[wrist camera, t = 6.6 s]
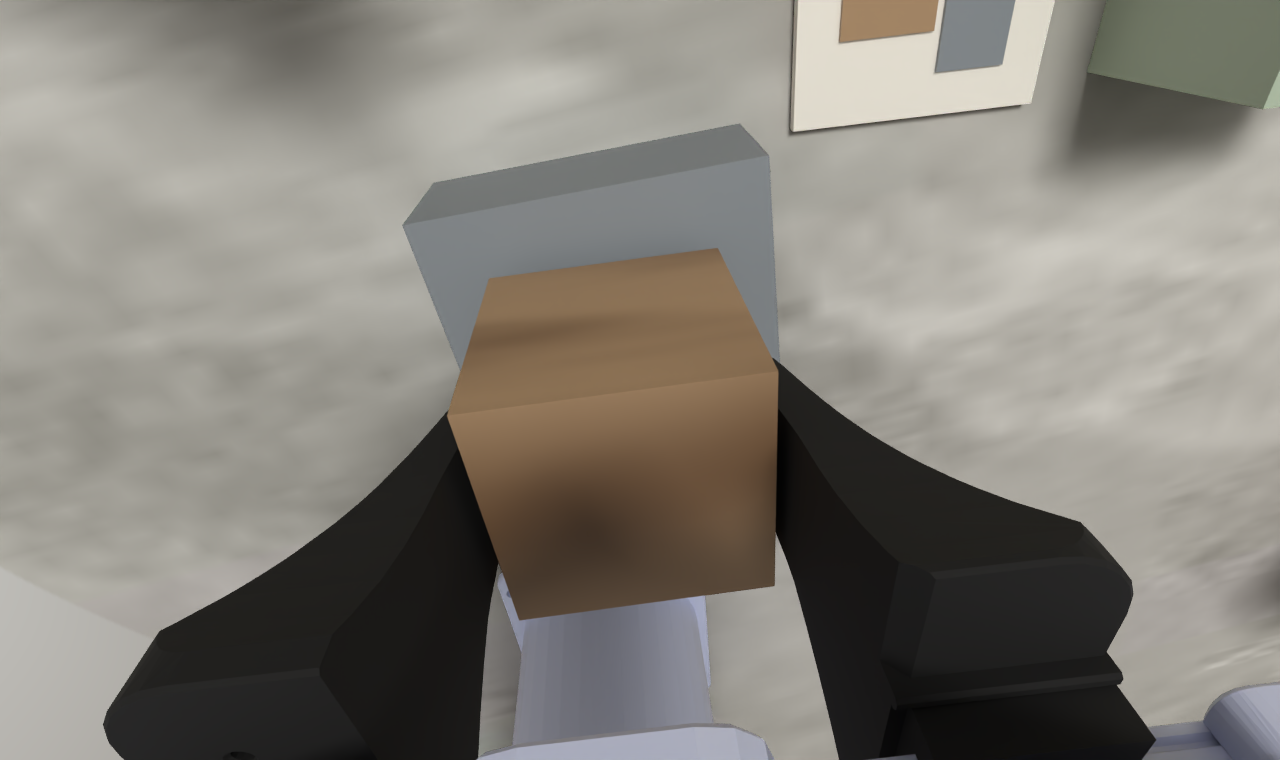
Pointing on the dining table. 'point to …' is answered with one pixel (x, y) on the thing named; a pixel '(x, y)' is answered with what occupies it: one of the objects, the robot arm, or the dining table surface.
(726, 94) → the dining table surface
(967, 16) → the card
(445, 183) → the slate block
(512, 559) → the walnut cube
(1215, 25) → the sage cube
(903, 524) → the robot arm
